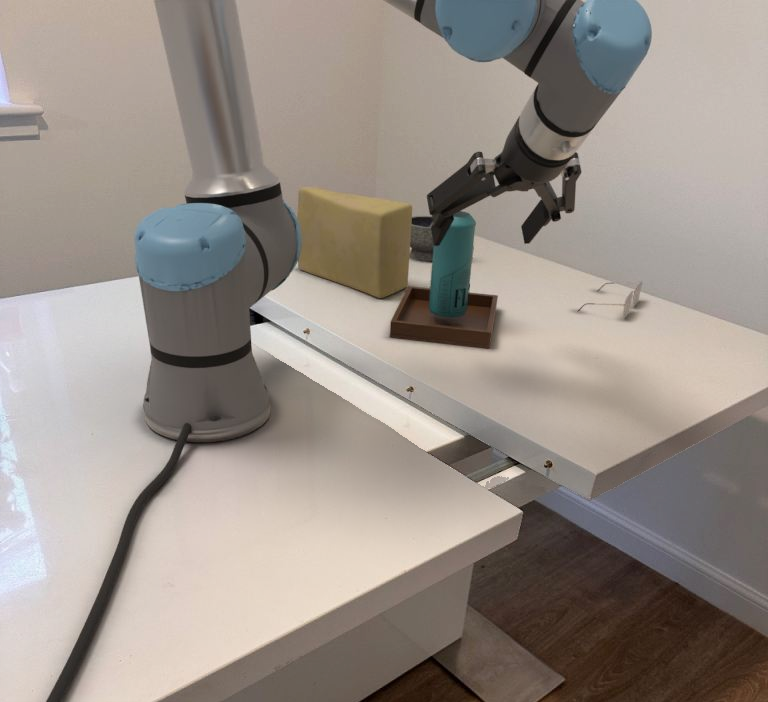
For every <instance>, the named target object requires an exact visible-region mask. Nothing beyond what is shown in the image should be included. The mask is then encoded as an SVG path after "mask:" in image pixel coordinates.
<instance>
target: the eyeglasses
mask: <svg viewBox="0 0 768 702" xmlns="http://www.w3.org/2000/svg"><path fill="white" fill-rule="evenodd" d="M608 284H609V285H611V284H613V285H614V284H615V282H605V283H604V284H603V285H601V286H600V287H599V289H597V290H596V292H599V291H601V290H602V288H604V286H606V285H608ZM618 284H619V285H620V284H621V285H622V284H623V285H624V284H625V285H636V286H635V287H634V290H631V291H630V292H629V293H628V295H627V296H626V297H625V299H624V303H598V305H603V306H623V313H622V318H623V319H625V318H626V317H627V316H628V314H629V312H630V309H631V305H632V306H636V305H637V304H638V302H639V299H640V295H641V291H642V286H643V280H642V279H641V280H640V281H639V282H617V285H618ZM586 305H596V303H595V302H594V303H593V302H592V303H591V302H587V303H584V304H583V305H582V306H580V308H579V309H578V310H577V312H580V311H581V310H582V309H583V307H585V306H586Z"/></svg>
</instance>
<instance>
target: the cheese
mask: <svg viewBox="0 0 768 702" xmlns="http://www.w3.org/2000/svg"><path fill="white" fill-rule="evenodd" d="M297 199H298V200H297V215H296V217H297V219H298V222H299V225H300V228H301V235H302V247H301V253H300V257H299V260H298V262H297V267H298V269H299V270H300V271H302V272H305V273H308V274H311V275H314V276H318V277H320V278H323V279H326V280H329V281H332V282H335V283H337V284H341V285H342V286H343V285H344V286H347V287H349V288H352V289H355V290H357V291H359V292H362V293H364V294H368V295H371V296H373V297H375V298H378V299H383V298H386V297H389V296H391V295H393V294H395V293H397V292H399V291H401V290H404V289H405V288H406V287H408V285H409V270H410V269H409V268H410V254H411V247H410V239H411V223H412V217H413V206H412V204H411V203H407V202H401V201H396V200H391V199H384V198H379V197H373V196H366V195H359V194H358V195H357V194H351V193H344V192H338V191H334V190H333V191H332V190H328V189H324V188H319V187H315V186H305V187H301V188H299V190H298V196H297Z"/></svg>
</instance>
